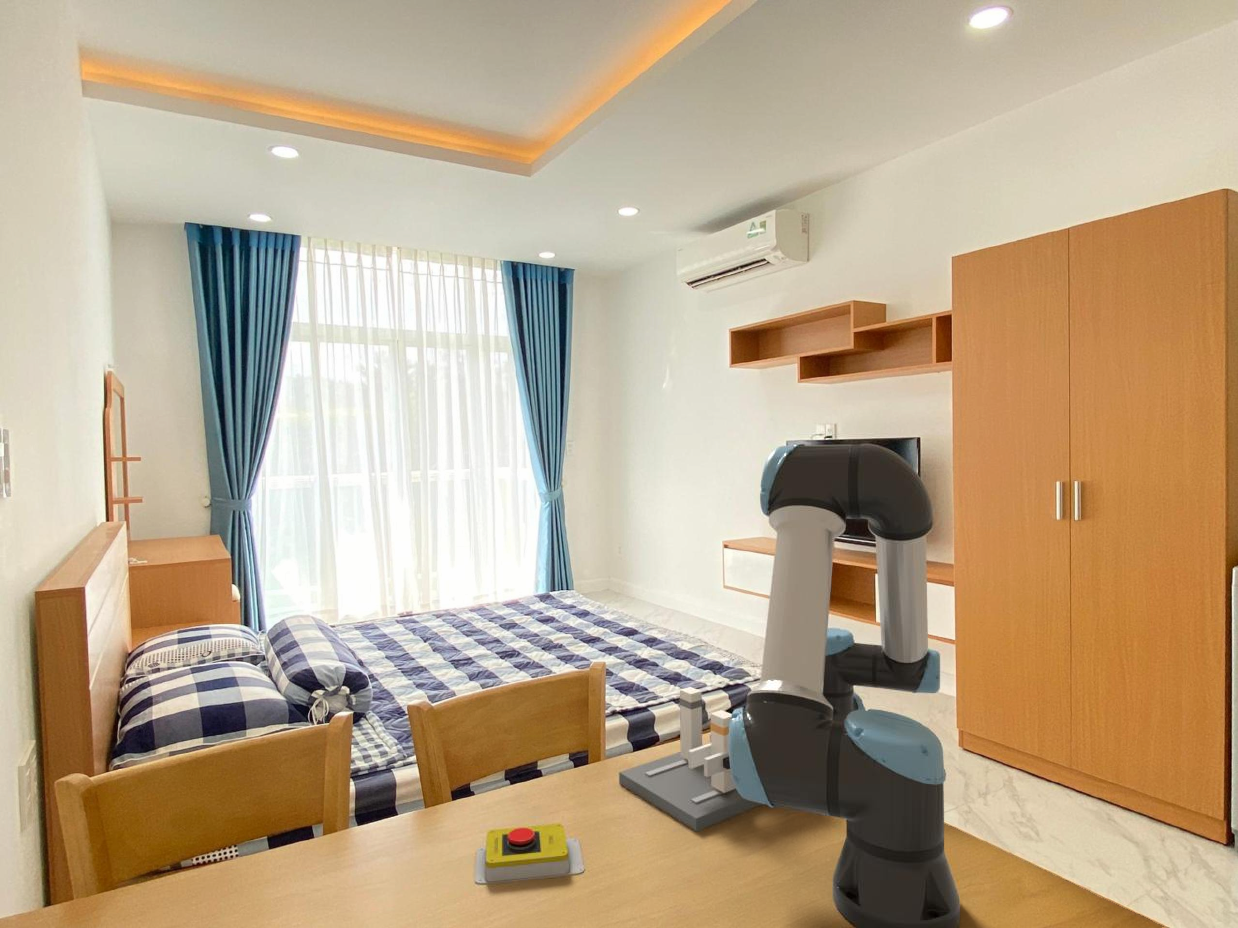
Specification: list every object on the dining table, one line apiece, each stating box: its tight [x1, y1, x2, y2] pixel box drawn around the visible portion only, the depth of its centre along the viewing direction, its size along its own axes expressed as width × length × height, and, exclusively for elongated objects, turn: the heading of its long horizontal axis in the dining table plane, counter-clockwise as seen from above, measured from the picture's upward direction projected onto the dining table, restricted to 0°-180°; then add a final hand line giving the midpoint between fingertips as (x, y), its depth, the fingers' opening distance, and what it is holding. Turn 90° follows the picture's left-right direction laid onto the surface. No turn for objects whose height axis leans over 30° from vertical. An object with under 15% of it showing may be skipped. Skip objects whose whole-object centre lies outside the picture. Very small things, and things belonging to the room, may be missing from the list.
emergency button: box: [474, 823, 585, 885], centre depth 107 cm, size 9×4×15 cm
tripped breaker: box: [709, 709, 736, 793], centre depth 123 cm, size 3×3×12 cm
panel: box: [618, 751, 763, 832], centre depth 127 cm, size 18×20×2 cm
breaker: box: [679, 686, 703, 760], centre depth 134 cm, size 3×3×12 cm
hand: (697, 763), depth 119 cm, fingers closed on tripped breaker, 3 cm apart
